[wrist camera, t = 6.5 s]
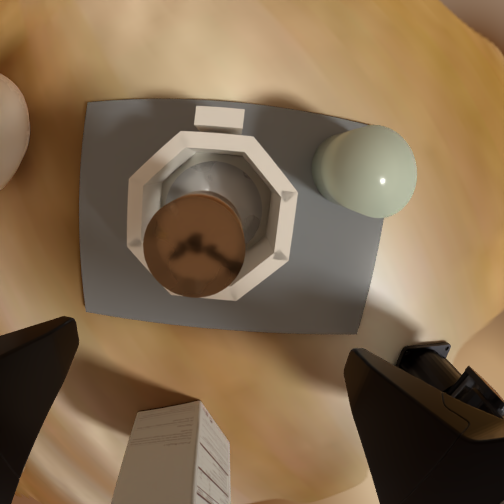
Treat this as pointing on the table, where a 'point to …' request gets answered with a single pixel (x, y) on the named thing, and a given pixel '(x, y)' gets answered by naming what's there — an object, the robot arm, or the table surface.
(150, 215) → the octagonal white frame
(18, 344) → the robot arm
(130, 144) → the slate tray
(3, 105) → the lidded jar
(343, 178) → the sage green dome
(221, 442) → the supplement box
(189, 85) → the table surface
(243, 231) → the coffee tamper
